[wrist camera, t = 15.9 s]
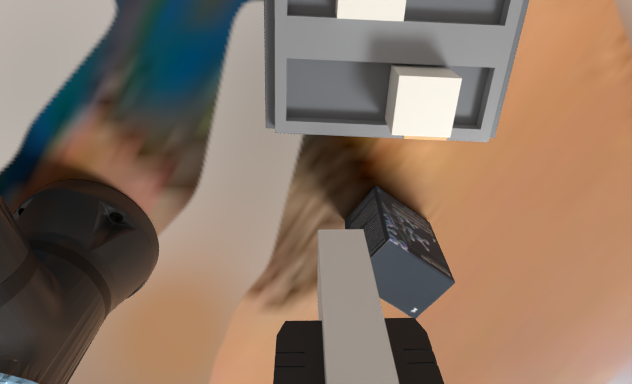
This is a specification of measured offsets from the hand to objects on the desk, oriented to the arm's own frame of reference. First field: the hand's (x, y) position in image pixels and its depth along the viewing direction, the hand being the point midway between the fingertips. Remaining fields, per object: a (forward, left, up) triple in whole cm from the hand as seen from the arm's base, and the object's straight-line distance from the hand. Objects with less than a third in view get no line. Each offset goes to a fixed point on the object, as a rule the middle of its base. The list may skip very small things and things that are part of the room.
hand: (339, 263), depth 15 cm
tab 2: (+8, -1, -27) cm, 28 cm away
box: (+7, -16, -29) cm, 34 cm away
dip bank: (+5, +3, -29) cm, 29 cm away
